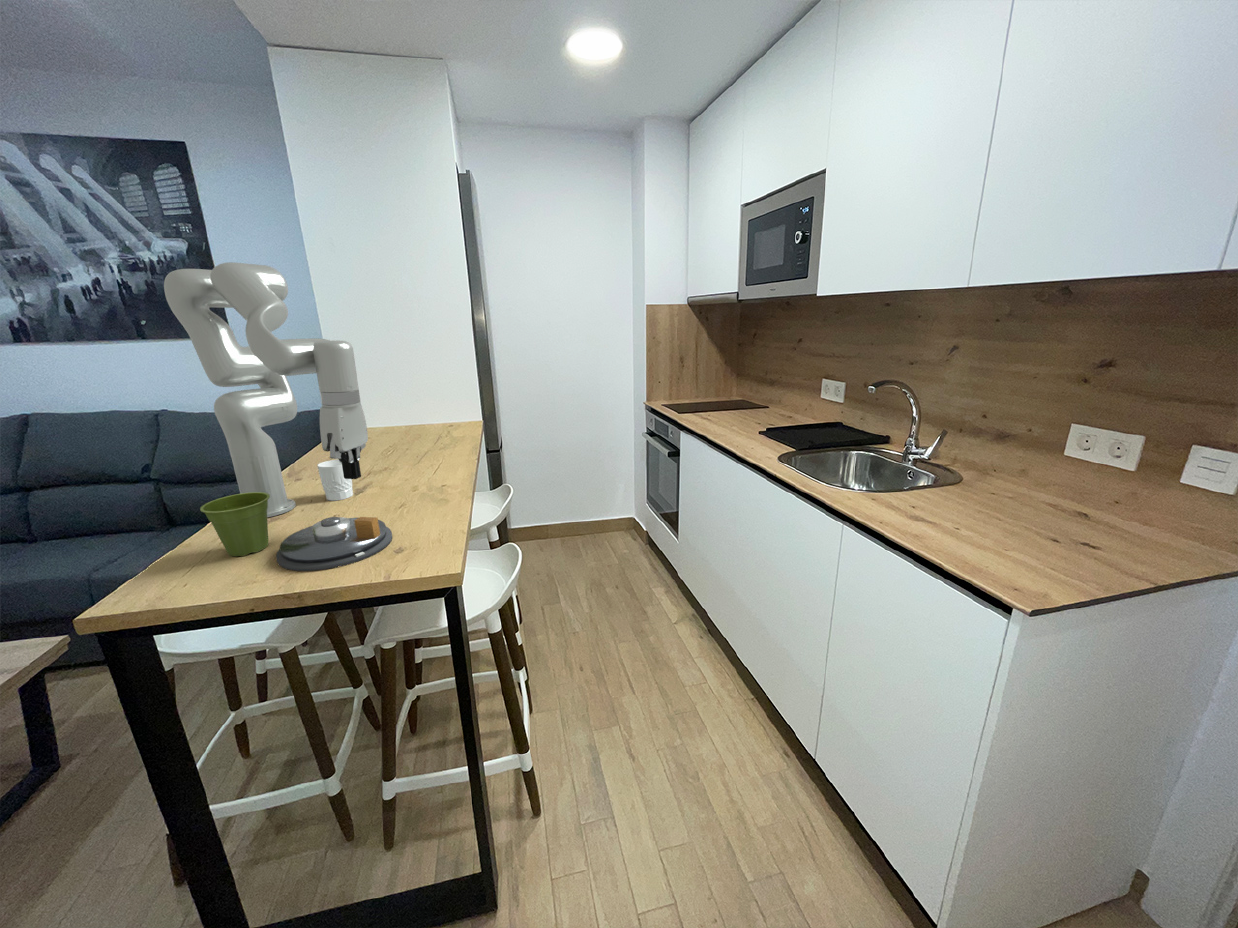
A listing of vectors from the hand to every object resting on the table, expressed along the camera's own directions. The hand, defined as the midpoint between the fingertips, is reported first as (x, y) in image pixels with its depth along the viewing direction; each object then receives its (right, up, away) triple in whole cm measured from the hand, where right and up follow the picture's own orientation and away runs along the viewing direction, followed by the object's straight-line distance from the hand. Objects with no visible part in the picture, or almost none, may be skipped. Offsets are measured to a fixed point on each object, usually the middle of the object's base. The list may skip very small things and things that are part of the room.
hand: (352, 477), depth 113 cm
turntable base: (0, -15, -6) cm, 16 cm away
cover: (0, -12, -7) cm, 14 cm away
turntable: (0, -14, -6) cm, 15 cm away
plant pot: (-19, -16, -6) cm, 26 cm away
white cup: (-18, -6, +27) cm, 33 cm away
